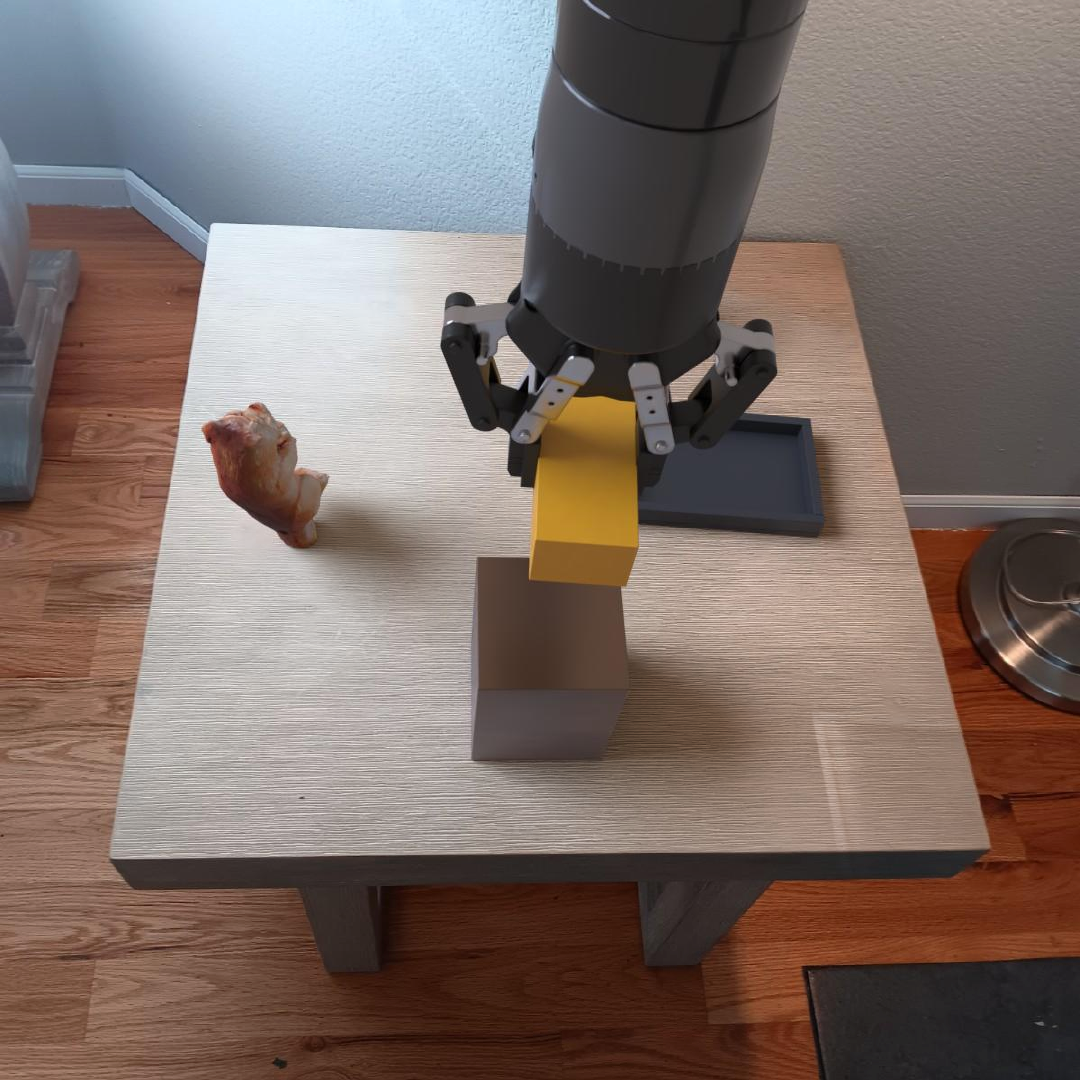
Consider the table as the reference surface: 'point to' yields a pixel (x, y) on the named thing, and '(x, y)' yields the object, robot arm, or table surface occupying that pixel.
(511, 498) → the table surface
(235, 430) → the figurine
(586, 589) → the stand
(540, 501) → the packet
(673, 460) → the tray
